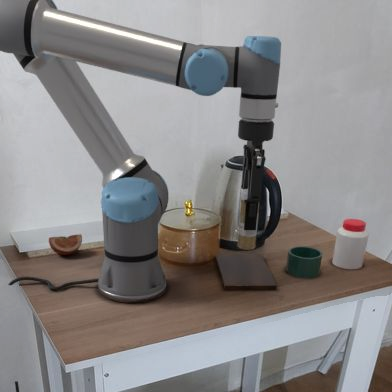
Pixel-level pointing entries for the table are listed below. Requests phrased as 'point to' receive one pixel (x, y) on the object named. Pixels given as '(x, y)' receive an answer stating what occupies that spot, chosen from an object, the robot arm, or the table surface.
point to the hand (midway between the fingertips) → (248, 225)
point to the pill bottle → (350, 244)
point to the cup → (304, 262)
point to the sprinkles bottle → (244, 236)
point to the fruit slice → (65, 244)
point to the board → (244, 272)
